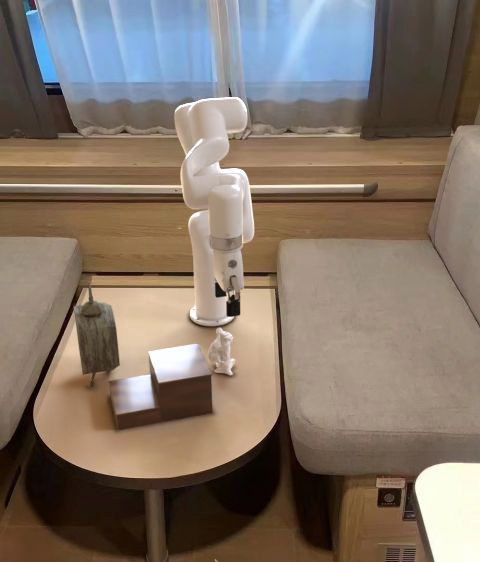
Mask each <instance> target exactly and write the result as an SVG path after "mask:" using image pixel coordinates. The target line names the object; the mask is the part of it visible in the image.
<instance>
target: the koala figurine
mask: <svg viewBox="0 0 480 562" xmlns="http://www.w3.org/2000/svg"><path fill="white" fill-rule="evenodd" d="M215 333H216V338H215V339H213V341H212V342H211V344H210V346H209V348H208V358H209V360H210V362H211V363H215V367H216V368H215V369H214V370H213V372H214V373H216V374H217V373H218V374H226V375H228V376H233V375H234V374H233V372H232V368H233V366H234V364H235V363H236V359H235V358H231V350H232V349H231V345H230V344H231V343H232V342H233V340H234V337H233V335H232V334H231V332H229V331H227V330H223V328H221V327H217V328H216V330H215Z"/></svg>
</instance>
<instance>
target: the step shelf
mask: <svg viewBox="0 0 480 562" xmlns="http://www.w3.org/2000/svg"><path fill="white" fill-rule="evenodd" d="M147 354H148V361H149V362H148V363H149V374H143V375H137V376H130V377H125V378H118V379H113V380H108V388H109V389H108V390H109V398H110V400H111V406H112V410H113V414H114V419H115V424H116V429H117V431H120V430H126V429H131V428H136V427H142V426H147V425H149V426H150V425H154V424H160V423H164V422H171V421H175V420H182V419H187V418H193V417H198V416H205V415H209V414H213V413H214V412H213V411H214V408H213V407H214V406H213V382H212V381H213V379H212V376H213V373H212V370H211V369H210V366H209V364H208V362H207V359H206V357H205V355H204V353H203V351H202V349H201V345H200V344H199V343H191V344H186V345H179V346H173V347H166V348H161V349H160V348H159V349H154V350H148V351H147Z"/></svg>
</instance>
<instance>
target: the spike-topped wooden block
mask: <svg viewBox="0 0 480 562" xmlns="http://www.w3.org/2000/svg"><path fill="white" fill-rule="evenodd" d="M87 289H88V301H86V302H85V303H84V304H79V305H73V310H74V321H75V328H76V336H77V344H78V350H79V351H78V352H79V358H80V365H81V372H82V376H84V375H90V374H91V380H90V381H88V383H87V385H88V387H89V388H94V387H95V385H96V383H95V381H94V380H95V377H96V376H97V374H99V373H105V372H106V373H107V374H109V373H110V374H111V372H113V371H114V370H116V369H117V368H118V367H119V366H120V365H121V361H120V351H119V341H118V340H119V339H118V333H117V331H118V330H117V324H116V319H115V315H114V311H113V307H112V305H111V304H109V303H106V302H99V301H97V300H94V296H93V290H92V285H91V283H89V282H87Z"/></svg>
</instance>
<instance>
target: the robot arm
mask: <svg viewBox="0 0 480 562" xmlns="http://www.w3.org/2000/svg"><path fill="white" fill-rule="evenodd" d="M173 119H174V127H175V132H176V135H177V138H178V141H179V143H180V145H181V147H182V149H183V151H184V154H185V157H184V159H183V161H182V164H181V168H180V184H181V191H182V197H183V201H184V203H185V205H186V206H187V208H189V209H191V210H201V211H197V212H195V213H193V214H192V215H191V216H190V217H189V219H188V222H187V223H188V225H187V226H188V227H187V228H188V233H189V238H190V243H191V251H192V265H193V286H194V288H193V289H194V290H193V291H194V306H193V307H192V308H191V309H190V311H189V317H190V319H191V321H192V322H193V323H195V324H198V325H200V326H204V327H219V326H223V325H226V324H229V323H230V322H231V321H233V320H234V318H235V317H239V316H241V291H242V290H244V288H245V281H244V280H245V279H244V278H245V277H244V265H243V263H244V262H243V256H242V248H243V247H244V244H247V243H249V242H251V241H252V240H253V238H254V236H255V221H254V211H253V203H252V195H251V188H250V186H251V185H250V181H249V178H248V175H247V173H246V171H244V170H242V169H240V168H224V169H223V168H222V169H221V168H220V163H219V162H220V161H221V160H223V159H224V158H225V157H226V156H227V155H228V153H229V150H230V141H229V137H228V134H236V133H242V132H244V131H245V129H246V128H247V125H248V111H247V107H246V105H245V103H244V102H243V100H242V99H241V98H239V97H217V98H205V99H200V100H198V101H195V102H189V103H185V104H181V105H179V106H178V107H177V108H176V109H175V110H174V115H173ZM230 287H231V288H230ZM231 293H232V294H231Z"/></svg>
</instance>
